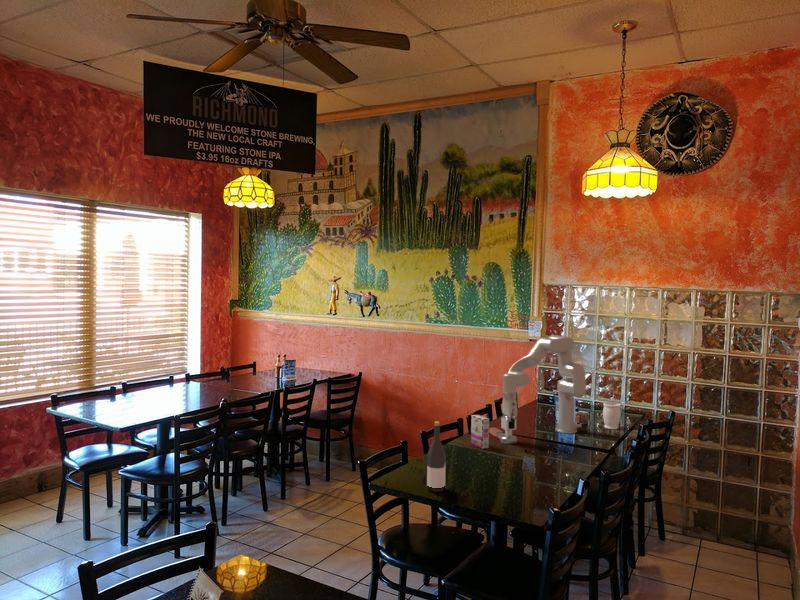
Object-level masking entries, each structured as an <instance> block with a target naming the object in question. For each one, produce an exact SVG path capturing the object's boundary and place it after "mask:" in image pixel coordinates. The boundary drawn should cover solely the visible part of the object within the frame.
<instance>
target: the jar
mask: <svg viewBox="0 0 800 600" xmlns="http://www.w3.org/2000/svg"><path fill="white" fill-rule="evenodd" d="M621 406H622V405H621V404H620V403H619V402H612V401H606V402H603V409H602V416H603V417H602V418H603V422H604V428H605V429H607V430H608V429H609V430H619V425H620V421H621V416H622V414H621V413H622V412H621Z"/></svg>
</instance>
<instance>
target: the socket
mask: <svg viewBox="0 0 800 600" xmlns="http://www.w3.org/2000/svg"><path fill="white" fill-rule="evenodd" d="M512 418H513V417H511V419H512ZM500 419H501V422H500V424H501V427H500V428H501V429H502V430H504V431H505V430H506V431H507V430H512V431H515V430H517V419H518V418H516V420H515V428H514V429H509V422H510V419H509V416H507V415H505V417H503V416H501V418H500Z"/></svg>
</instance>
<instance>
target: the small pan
mask: <svg viewBox="0 0 800 600" xmlns="http://www.w3.org/2000/svg"><path fill="white" fill-rule="evenodd" d="M489 434H491V435H492V436H494V437H495V438H498V439H499V441H500V443H501V444H503V443H504V444H503V445H516V444H517V441H518V439H517V438H518V437H517V436H516V435H513V430H507V431H506V430H504V432H503V431H502V430H500V429H498V428H497V427H494V426H493V427H489ZM515 443H516V444H515Z"/></svg>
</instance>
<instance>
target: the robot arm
mask: <svg viewBox="0 0 800 600" xmlns="http://www.w3.org/2000/svg"><path fill="white" fill-rule="evenodd" d="M574 347H575V340H574V339H573V338H572V337H569V336H565V335H559V334H558V335H557V334H551V335H549V336H546V337H545V336H544V337H540V338H538V339H537V340H536V342H535V344H533V346H532V348H531V349H530V350H529V351H528V353H527V355H524V356H523V357H522V358H520V359H519V360H517V361H516V362H515V363H513V364H512V365H511V366H510V368H509V370H508V372H507V373H504V374H502V375H503V376H502V404H501V414H502V417H505V415H507V416H509V419H510V422H509V429H514V428H515V420H516V419H518V418H517V416H518V401H517V387H526V386H528V385H529V384H530V382H531V377H530V375H529V374H528V373H525V372H523V371H524V370H526V369H529V368H533V367H536V366H538V365H540V364H541V362H542V361H543V359H544V358H545V356H546V355H547V354H548V353H549V354H556V357H557V364H558V365H557V366H558V374H559V375H560V376H561V377H563V378H561V379H560V380H559V381H558V382H557V386H556V387H557V388H556V390H557V394H558V418H557V419H558V420H557V421H558V422H557V424H558V425H557V426H556V427H555V429H554V430H555V431H556V432H557V433H562V434H568V435H569V434H576V433H577V432H578V430H577V428H582V427H583V426H582V424H581V423H579V424H578V423H575V420H576V419H575V418H576V400H575V398H580V399H581V398H583V397H584V396H585V394H586V392H587V382H586V371H585V370H586V369H585V368H584V366H583V365H582V364H580V363H577V362H574V360H573V359H574V358H573V353H572V350H573V349H574ZM511 417H513V418H512V419H511Z"/></svg>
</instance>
